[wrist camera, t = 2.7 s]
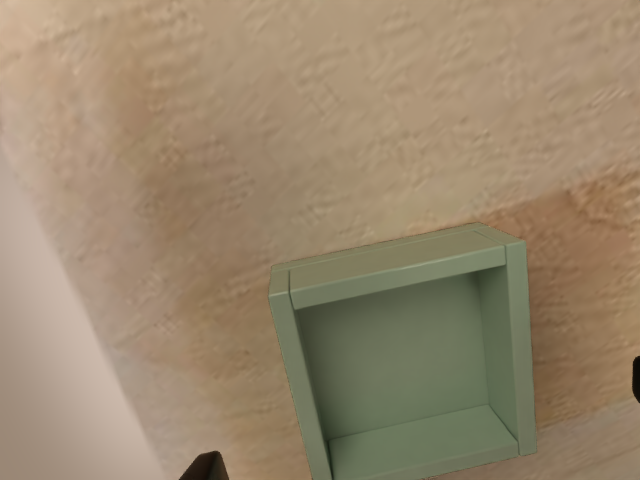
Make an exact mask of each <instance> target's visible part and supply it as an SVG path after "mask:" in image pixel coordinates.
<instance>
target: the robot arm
mask: <svg viewBox="0 0 640 480" xmlns="http://www.w3.org/2000/svg"><path fill="white" fill-rule="evenodd" d="M632 390H633V394H634V396H635V398H636V399H637V401H638V402H639V403H640V356H638V357H636V358H635V359H634V361H633V377H632ZM179 480H229V477H228V474H227V471H226V468H225V465H224V462H223V458H222V456H221V454H220V452H218V451H212V452H208V453H203V454H200V455H199V456H198V457H197V458H196V459H195V460H194V461H193V463H192V464H191V465H190V466H189V468H188V469H187V470H186V471H185V472H184V474H183V475H182V476H181V477H180V479H179Z"/></svg>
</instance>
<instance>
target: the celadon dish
mask: <svg viewBox="0 0 640 480" xmlns="http://www.w3.org/2000/svg"><path fill="white" fill-rule="evenodd" d="M268 300H269V304H270V308H271V313H272V317H273V321H274V325H275V329H276V333H277V337H278V341H279V345H280V349H281V353H282V357H283V361H284V365H285V370H286V374H287V378H288V382H289V386H290V390H291V394H292V398H293V402H294V406H295V410H296V414H297V418H298V423H299V427H300V431H301V435H302V439H303V443H304V447H305V451H306V455H307V459H308V463H309V467H310V471H311V476H312V480H421V479H425V478H429V477H434V476H438V475H442V474H447V473H451V472H455V471H460V470H464V469H468V468H473V467H477V466H481V465H486V464H490V463H494V462H499V461H503V460H507V459H512V458H516V457H518V456H519V455H520V456H526V455H530V454H534V453H537V437H536V418H535V399H534V381H533V362H532V343H531V324H530V306H529V287H528V268H527V249H526V241H524V240H522V239H520V238H517V237H515V236H512V235H510V234H508V233H505V232H503V231H500V230H498V229H496V228H493V227H489V226H488V225H485V224H483V223H480V222H478V223H473V224H468V225H463V226H458V227H454V228H449V229H444V230H439V231H435V232H430V233H425V234H420V235H415V236H411V237H406V238H401V239H396V240H391V241H387V242H382V243H377V244H372V245H368V246H363V247H358V248H353V249H348V250H344V251H339V252H334V253H329V254H325V255H320V256H315V257H310V258H305V259H301V260H296V261H291V262H286V263H281V264H277V265H273V266H272V267H271V274H270V282H269V291H268Z"/></svg>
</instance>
